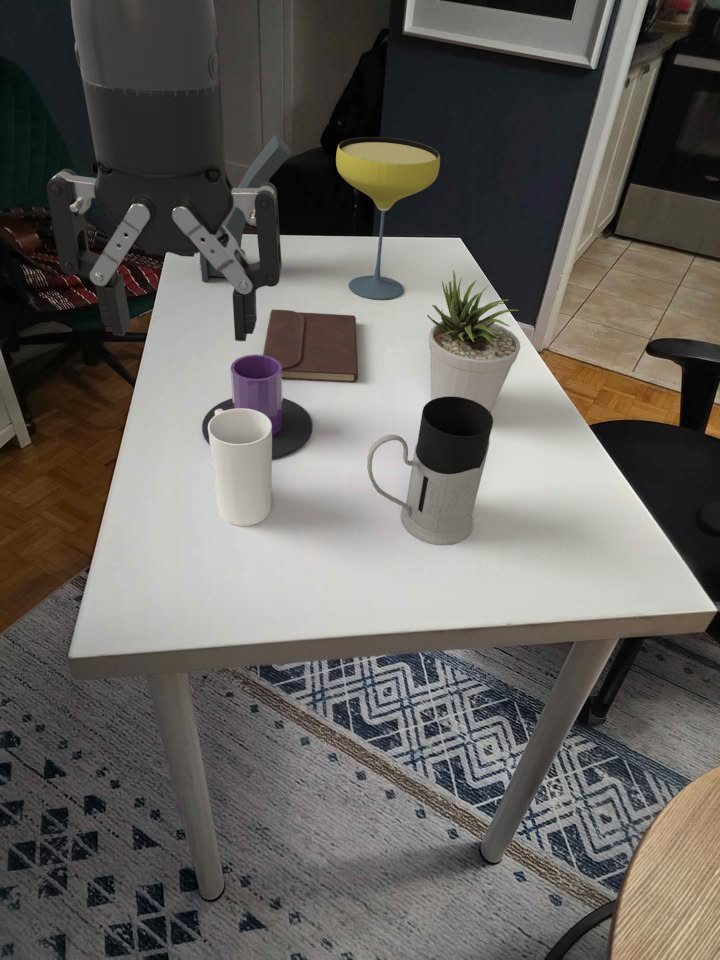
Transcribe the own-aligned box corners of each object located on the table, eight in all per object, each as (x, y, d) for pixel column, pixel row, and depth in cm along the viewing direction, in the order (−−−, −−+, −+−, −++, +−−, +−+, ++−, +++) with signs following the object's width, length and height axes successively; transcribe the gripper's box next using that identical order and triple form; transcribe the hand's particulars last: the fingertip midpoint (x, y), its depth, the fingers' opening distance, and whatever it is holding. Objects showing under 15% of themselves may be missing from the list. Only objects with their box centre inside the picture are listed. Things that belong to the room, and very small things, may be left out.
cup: (240, 441, 86) (237, 383, 80) (229, 414, 90) (225, 357, 84) (288, 433, 88) (288, 376, 82) (275, 407, 92) (274, 351, 86)
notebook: (355, 323, 115) (356, 313, 114) (357, 382, 100) (358, 371, 99) (270, 319, 114) (270, 308, 113) (260, 378, 99) (259, 366, 98)
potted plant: (475, 378, 104) (502, 255, 91) (517, 427, 94) (554, 297, 81) (403, 386, 100) (420, 260, 87) (438, 438, 90) (463, 304, 77)
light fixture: (290, 283, 126) (291, 147, 111) (199, 282, 123) (187, 143, 108) (287, 261, 134) (287, 131, 119) (201, 260, 132) (189, 127, 116)
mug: (284, 515, 76) (283, 433, 68) (232, 536, 73) (225, 452, 65) (244, 468, 82) (240, 388, 75) (195, 485, 79) (185, 403, 71)
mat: (215, 469, 82) (214, 466, 81) (193, 405, 92) (192, 402, 92) (327, 449, 87) (327, 446, 86) (294, 390, 97) (294, 388, 97)
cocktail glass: (341, 264, 135) (349, 132, 119) (427, 277, 133) (446, 144, 117) (320, 299, 121) (325, 155, 105) (414, 314, 119) (434, 170, 103)
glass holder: (486, 536, 76) (515, 433, 66) (374, 562, 72) (387, 455, 62) (452, 489, 82) (474, 388, 72) (347, 510, 78) (356, 406, 68)
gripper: (283, 70, 40) (284, 315, 50) (44, 51, 39) (96, 305, 49) (274, 94, 34) (277, 365, 44) (-7, 72, 33) (64, 354, 43)
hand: (182, 333), depth 47 cm, fingers open, 8 cm apart
